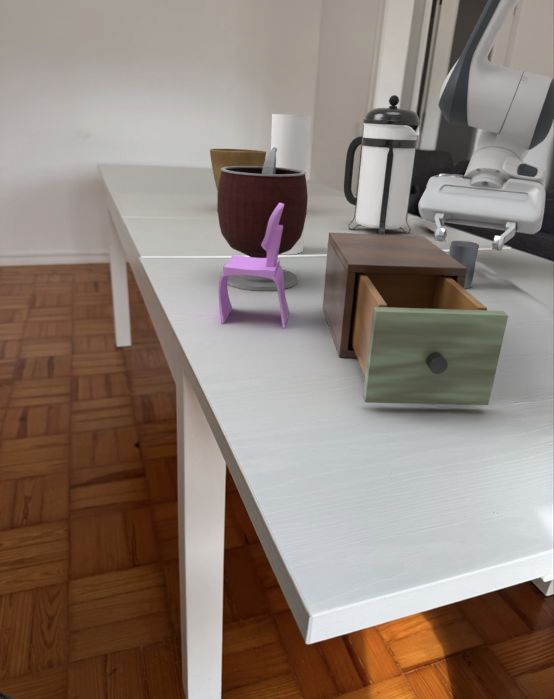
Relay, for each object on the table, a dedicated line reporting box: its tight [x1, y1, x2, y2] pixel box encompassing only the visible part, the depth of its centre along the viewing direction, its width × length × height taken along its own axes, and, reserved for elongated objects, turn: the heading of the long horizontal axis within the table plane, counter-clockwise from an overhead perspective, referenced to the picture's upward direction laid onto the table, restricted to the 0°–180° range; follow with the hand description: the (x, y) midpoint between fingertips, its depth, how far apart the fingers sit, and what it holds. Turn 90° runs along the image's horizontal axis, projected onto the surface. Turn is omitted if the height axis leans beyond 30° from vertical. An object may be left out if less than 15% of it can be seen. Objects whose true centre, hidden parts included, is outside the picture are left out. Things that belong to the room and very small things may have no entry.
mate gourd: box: [216, 147, 309, 292], centre depth 86 cm, size 16×14×20 cm
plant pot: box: [209, 148, 267, 192], centre depth 147 cm, size 15×15×16 cm
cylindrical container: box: [270, 113, 312, 256], centre depth 105 cm, size 7×7×25 cm
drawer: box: [349, 272, 509, 406], centre depth 56 cm, size 17×12×9 cm
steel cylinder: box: [448, 240, 480, 290], centre depth 91 cm, size 4×4×7 cm
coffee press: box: [343, 94, 422, 235], centre depth 128 cm, size 17×16×30 cm
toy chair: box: [217, 203, 290, 329], centre depth 70 cm, size 8×9×15 cm
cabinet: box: [322, 232, 467, 359], centre depth 68 cm, size 17×13×11 cm
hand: (467, 243), depth 91 cm, fingers open, 8 cm apart
